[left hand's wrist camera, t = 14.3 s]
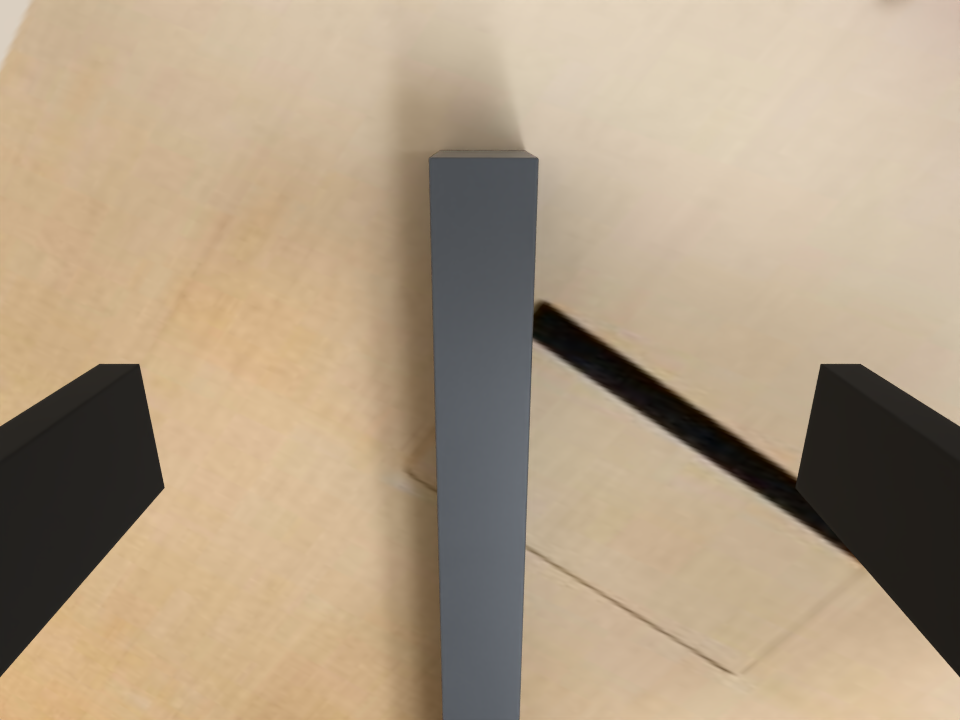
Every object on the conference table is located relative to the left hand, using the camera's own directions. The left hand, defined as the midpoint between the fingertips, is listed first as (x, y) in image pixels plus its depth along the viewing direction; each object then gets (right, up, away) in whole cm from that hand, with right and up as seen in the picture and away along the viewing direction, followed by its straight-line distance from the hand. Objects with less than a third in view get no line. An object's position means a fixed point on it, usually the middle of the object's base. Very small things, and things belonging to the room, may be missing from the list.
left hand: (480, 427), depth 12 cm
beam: (0, -24, +38) cm, 44 cm away
